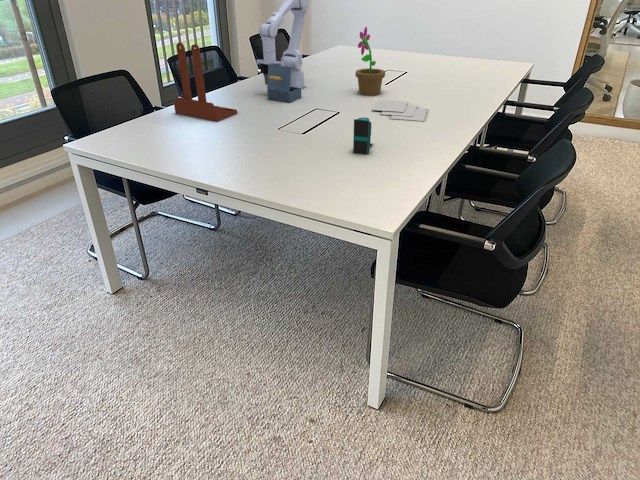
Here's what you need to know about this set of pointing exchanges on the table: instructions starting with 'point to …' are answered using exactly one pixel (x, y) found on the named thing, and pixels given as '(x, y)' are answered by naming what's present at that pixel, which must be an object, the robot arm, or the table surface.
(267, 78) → the walnut block
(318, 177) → the table surface
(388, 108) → the paper stack
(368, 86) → the flowerpot
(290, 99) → the tin box
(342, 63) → the table surface
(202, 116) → the hanging shelf
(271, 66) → the lid
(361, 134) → the black teal block
